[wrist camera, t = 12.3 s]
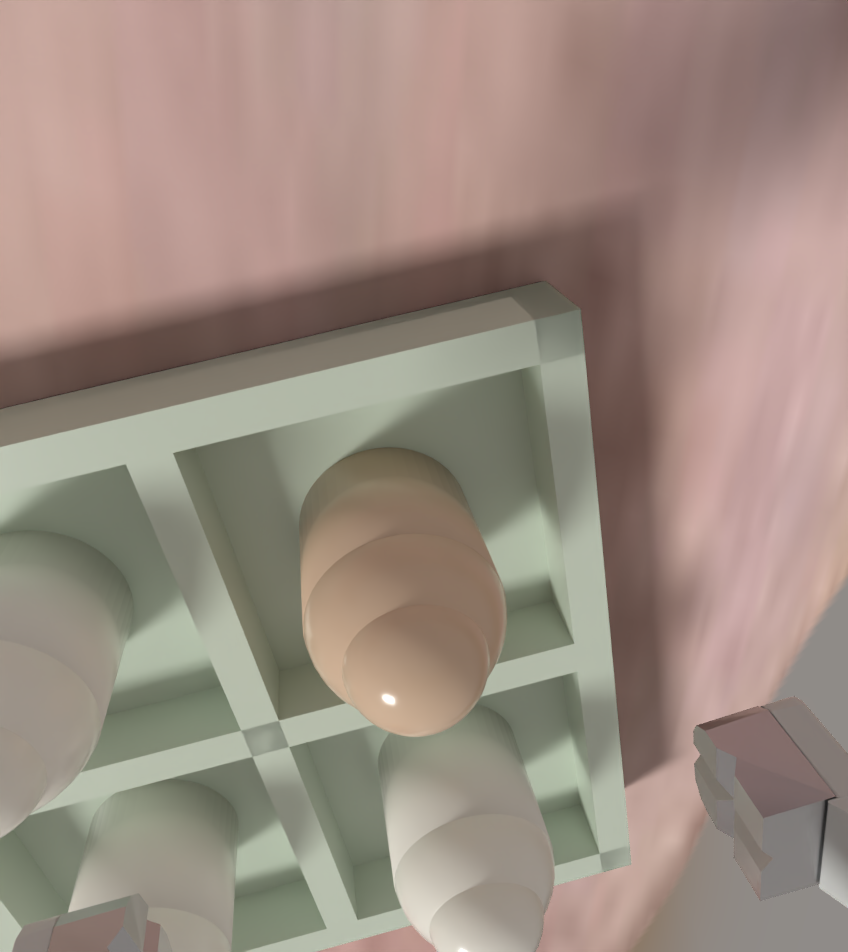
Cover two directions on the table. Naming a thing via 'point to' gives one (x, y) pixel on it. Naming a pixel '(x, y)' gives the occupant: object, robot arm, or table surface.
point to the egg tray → (280, 605)
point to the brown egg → (399, 591)
